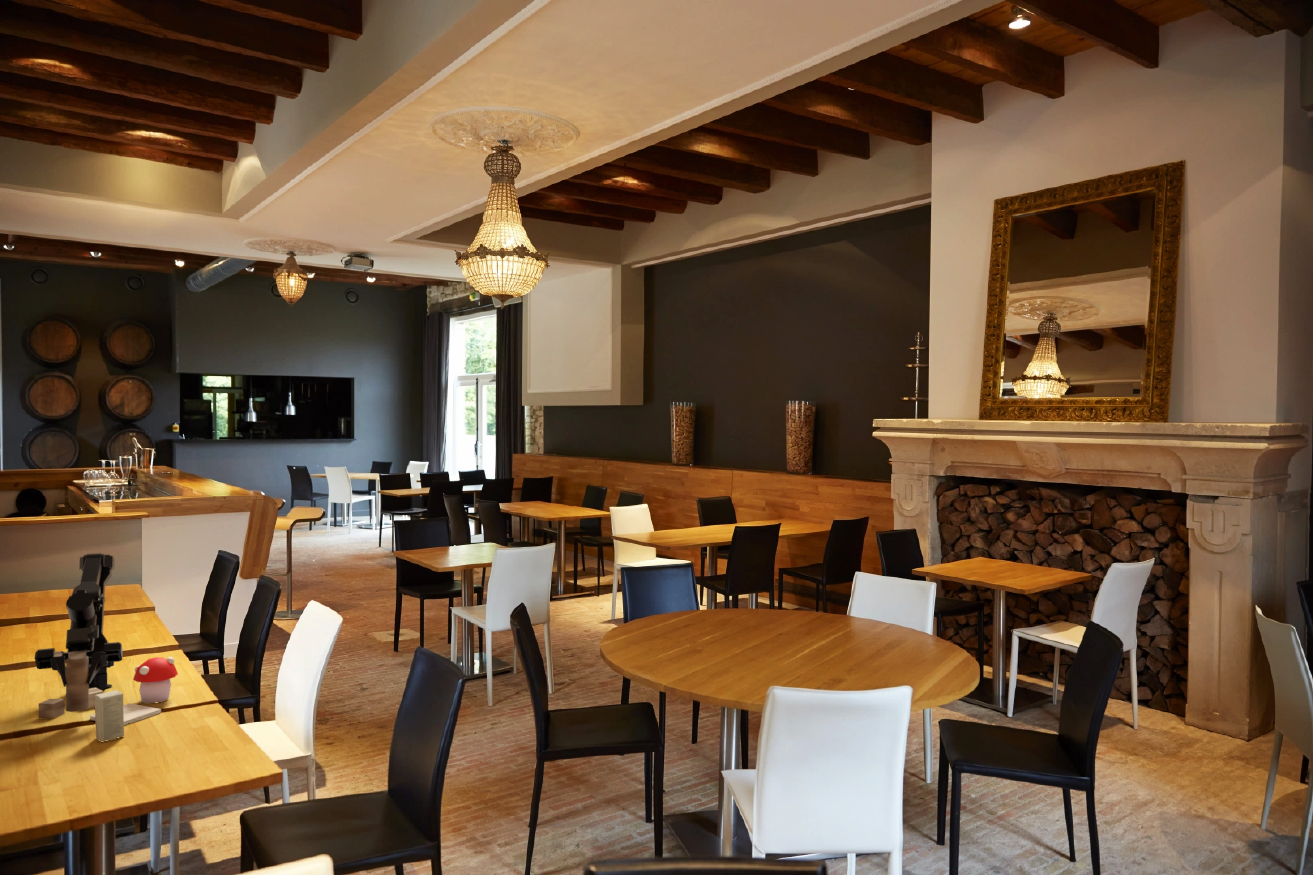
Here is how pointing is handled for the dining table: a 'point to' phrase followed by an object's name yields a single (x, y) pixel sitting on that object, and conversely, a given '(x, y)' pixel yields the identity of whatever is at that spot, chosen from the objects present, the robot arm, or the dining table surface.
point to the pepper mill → (77, 681)
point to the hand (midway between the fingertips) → (76, 684)
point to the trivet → (135, 713)
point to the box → (109, 715)
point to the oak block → (93, 696)
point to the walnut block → (51, 708)
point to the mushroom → (155, 679)
